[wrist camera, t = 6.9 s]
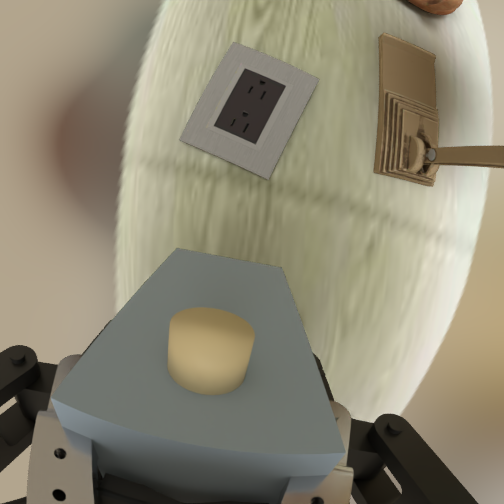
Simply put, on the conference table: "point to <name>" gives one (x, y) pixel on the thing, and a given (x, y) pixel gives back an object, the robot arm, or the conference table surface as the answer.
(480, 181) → the conference table surface
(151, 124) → the conference table surface
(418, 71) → the banker's lamp
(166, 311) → the cabinet block
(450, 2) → the ceramic jug
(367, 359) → the conference table surface
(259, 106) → the electrical outlet
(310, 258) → the conference table surface
